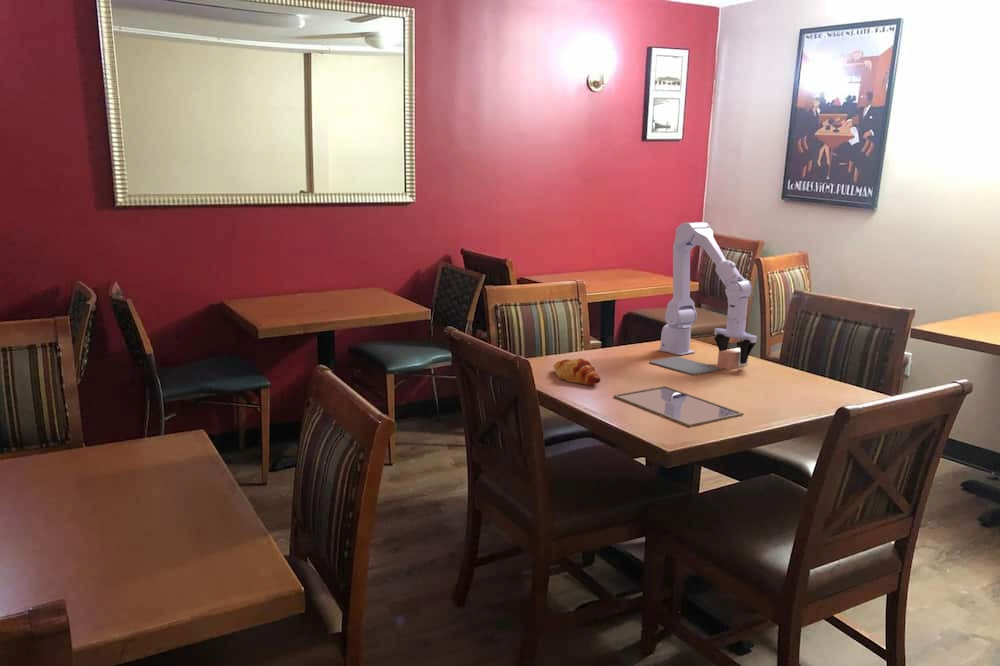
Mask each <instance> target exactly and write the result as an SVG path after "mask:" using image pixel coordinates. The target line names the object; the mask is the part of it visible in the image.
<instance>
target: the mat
mask: <svg viewBox="0 0 1000 666" xmlns="http://www.w3.org/2000/svg"><path fill="white" fill-rule="evenodd" d="M648 363H649V364H651V365H655V366H657V365H658V367H660V368H664V367H665V369H668V368H669V369H668V370H672V371H675V370H676V371H675V372H679V371H680V373H682V372H683V374H686V373H687V375H689V374H691V375H690V376H693V375H696V376H699V375H698V374H700V375H702V374H703V373H704V374H708V373H707V372H709V373H713V372H717V371H716V370H718V371H721V370H722V368H720V367H717V366H715V365H710V364H708V363H704V362H699V361H696V360H691V359H688V358H685V357H684V358H683V357H682V356H681V357H680V356H678V355H677V356H671V357H667V358H666V357H665V358H662V359H657V360H651V361H648ZM712 371H713V372H712Z"/></svg>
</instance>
